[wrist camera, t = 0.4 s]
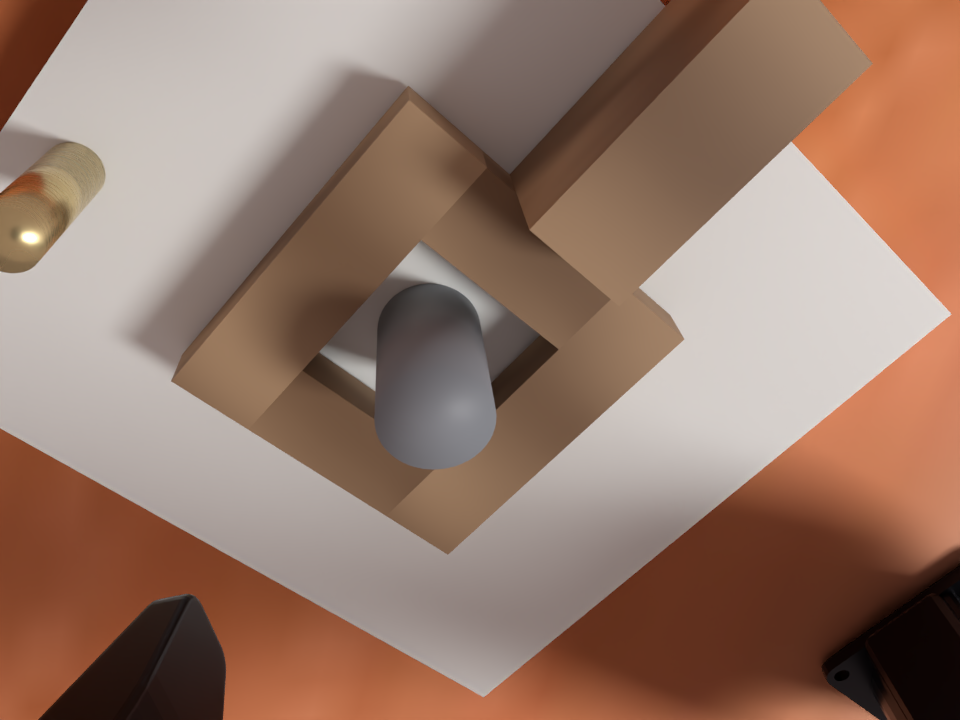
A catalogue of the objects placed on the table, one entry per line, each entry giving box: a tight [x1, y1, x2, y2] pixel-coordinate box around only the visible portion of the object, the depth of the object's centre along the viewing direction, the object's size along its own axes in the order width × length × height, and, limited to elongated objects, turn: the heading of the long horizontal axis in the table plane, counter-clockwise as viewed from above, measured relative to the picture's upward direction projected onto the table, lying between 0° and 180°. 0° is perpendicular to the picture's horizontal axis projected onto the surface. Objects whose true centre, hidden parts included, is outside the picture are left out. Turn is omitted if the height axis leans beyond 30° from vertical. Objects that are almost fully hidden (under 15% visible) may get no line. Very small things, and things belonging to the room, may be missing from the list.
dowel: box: [0, 142, 106, 273], centre depth 17 cm, size 1×1×4 cm
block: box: [171, 0, 873, 555], centre depth 18 cm, size 14×8×3 cm, turn 138°
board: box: [0, 0, 951, 697], centre depth 20 cm, size 19×17×5 cm
